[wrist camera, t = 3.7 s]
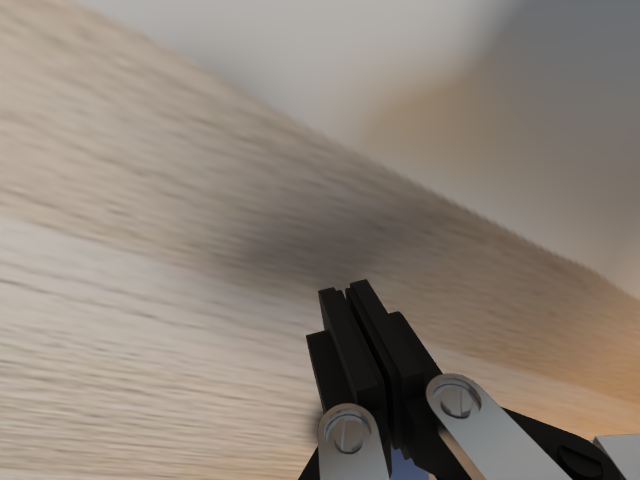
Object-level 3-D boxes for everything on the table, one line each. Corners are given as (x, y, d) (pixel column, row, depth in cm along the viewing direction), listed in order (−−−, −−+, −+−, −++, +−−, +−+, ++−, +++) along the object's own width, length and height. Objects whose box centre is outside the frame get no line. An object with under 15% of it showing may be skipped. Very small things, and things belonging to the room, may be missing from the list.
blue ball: (401, 378, 17) (461, 492, 12) (403, 439, 20) (454, 555, 15) (299, 406, 16) (322, 538, 12) (315, 466, 19) (339, 596, 14)
